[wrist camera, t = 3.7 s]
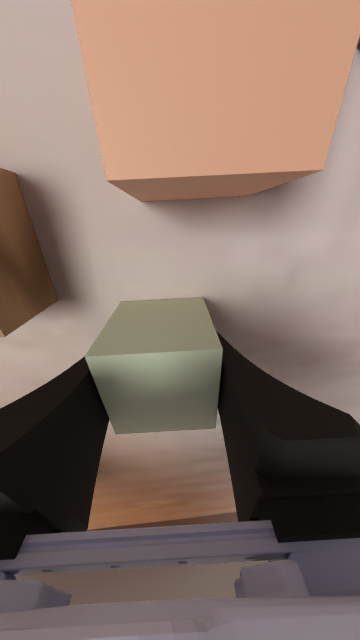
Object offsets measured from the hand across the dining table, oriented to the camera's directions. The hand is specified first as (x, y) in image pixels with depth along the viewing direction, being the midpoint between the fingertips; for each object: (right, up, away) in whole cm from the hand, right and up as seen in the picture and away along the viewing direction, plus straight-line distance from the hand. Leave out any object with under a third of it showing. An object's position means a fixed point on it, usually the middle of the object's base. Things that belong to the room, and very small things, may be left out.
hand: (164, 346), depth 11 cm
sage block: (0, +1, +1) cm, 1 cm away
